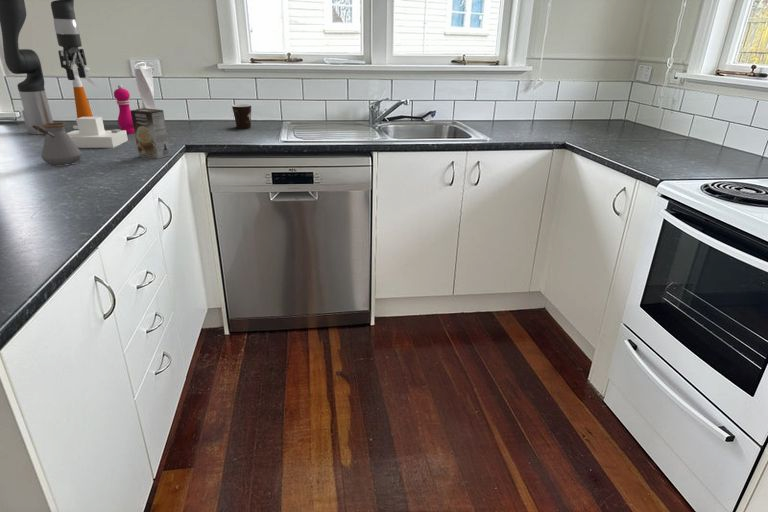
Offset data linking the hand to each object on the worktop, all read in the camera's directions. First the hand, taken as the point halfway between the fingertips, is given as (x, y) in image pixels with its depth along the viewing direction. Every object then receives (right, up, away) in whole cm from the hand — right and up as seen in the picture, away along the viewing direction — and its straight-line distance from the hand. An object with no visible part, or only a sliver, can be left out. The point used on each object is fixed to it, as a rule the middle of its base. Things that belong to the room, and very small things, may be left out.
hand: (77, 78), depth 190 cm
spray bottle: (-10, -14, +27) cm, 32 cm away
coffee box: (+36, -32, -12) cm, 50 cm away
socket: (+4, -24, +4) cm, 25 cm away
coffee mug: (+51, -9, +41) cm, 66 cm away
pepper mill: (+6, -14, +26) cm, 31 cm away
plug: (+3, -22, +3) cm, 23 cm away
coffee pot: (+12, -39, -28) cm, 50 cm away
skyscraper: (+8, -7, +44) cm, 45 cm away
